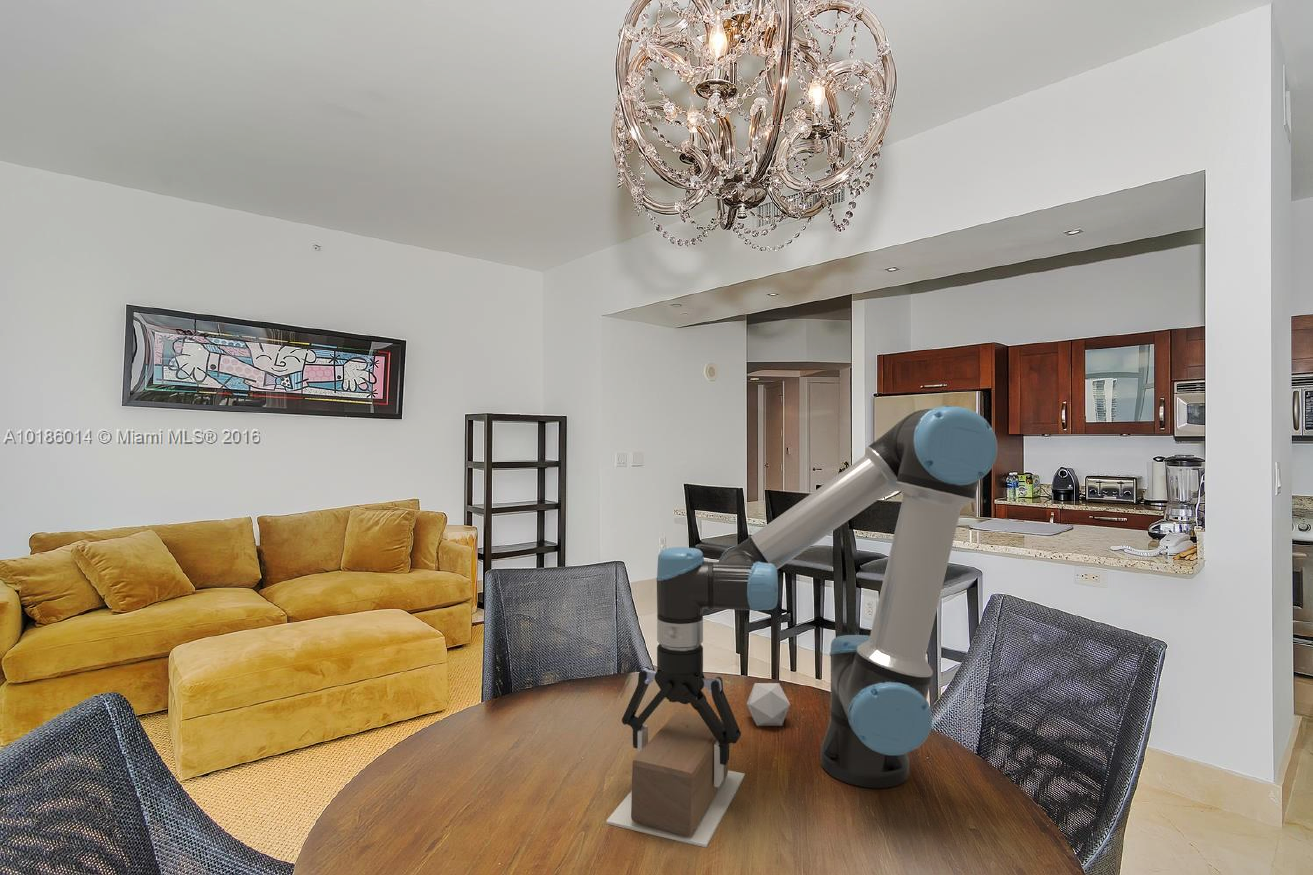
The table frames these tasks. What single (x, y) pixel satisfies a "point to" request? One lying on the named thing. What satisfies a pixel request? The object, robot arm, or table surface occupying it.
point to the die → (768, 704)
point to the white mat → (705, 825)
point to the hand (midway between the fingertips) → (680, 775)
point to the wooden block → (675, 776)
